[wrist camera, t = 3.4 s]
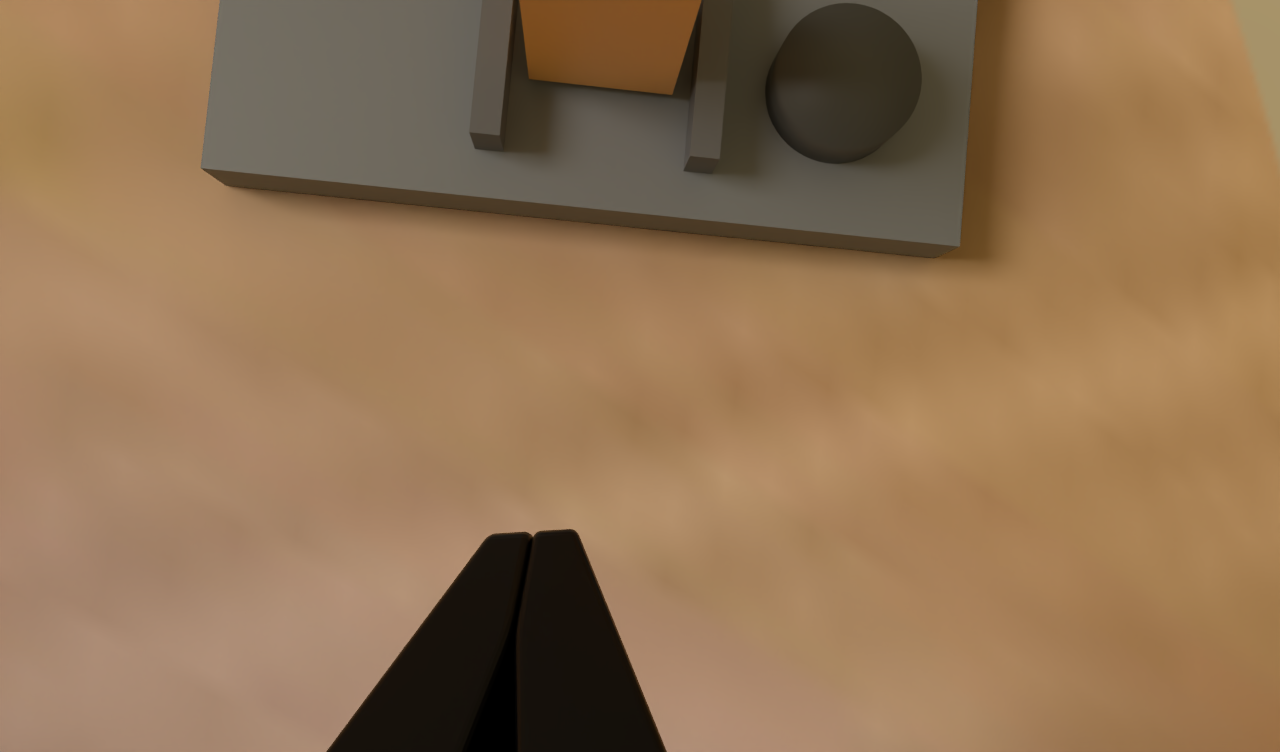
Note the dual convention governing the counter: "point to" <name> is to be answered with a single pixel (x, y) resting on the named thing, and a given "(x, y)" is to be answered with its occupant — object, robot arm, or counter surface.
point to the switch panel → (611, 118)
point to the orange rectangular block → (608, 41)
